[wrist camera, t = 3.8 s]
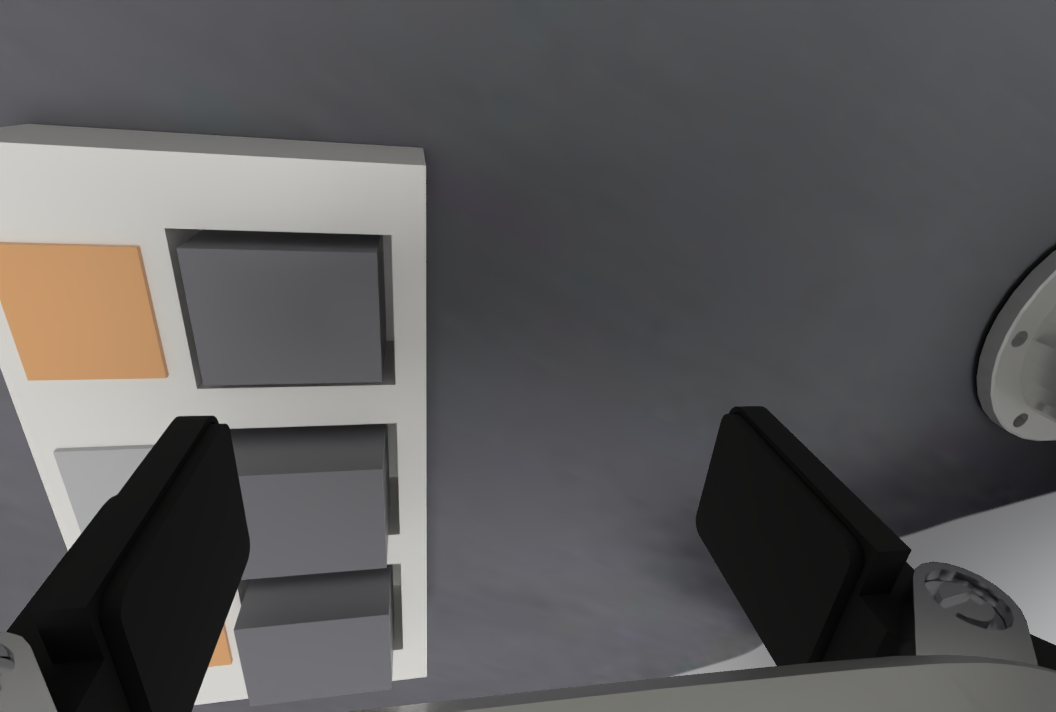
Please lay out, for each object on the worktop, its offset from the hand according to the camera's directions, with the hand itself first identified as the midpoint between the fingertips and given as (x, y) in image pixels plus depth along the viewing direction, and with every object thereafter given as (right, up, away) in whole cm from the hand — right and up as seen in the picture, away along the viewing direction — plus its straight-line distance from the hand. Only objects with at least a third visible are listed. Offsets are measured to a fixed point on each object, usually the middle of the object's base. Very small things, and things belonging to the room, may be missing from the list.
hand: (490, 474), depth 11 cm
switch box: (-10, 0, +12) cm, 16 cm away
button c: (-8, -7, +13) cm, 17 cm away
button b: (-7, -2, +10) cm, 13 cm away
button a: (-7, +5, +9) cm, 12 cm away
